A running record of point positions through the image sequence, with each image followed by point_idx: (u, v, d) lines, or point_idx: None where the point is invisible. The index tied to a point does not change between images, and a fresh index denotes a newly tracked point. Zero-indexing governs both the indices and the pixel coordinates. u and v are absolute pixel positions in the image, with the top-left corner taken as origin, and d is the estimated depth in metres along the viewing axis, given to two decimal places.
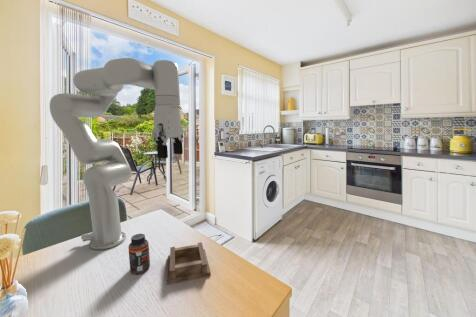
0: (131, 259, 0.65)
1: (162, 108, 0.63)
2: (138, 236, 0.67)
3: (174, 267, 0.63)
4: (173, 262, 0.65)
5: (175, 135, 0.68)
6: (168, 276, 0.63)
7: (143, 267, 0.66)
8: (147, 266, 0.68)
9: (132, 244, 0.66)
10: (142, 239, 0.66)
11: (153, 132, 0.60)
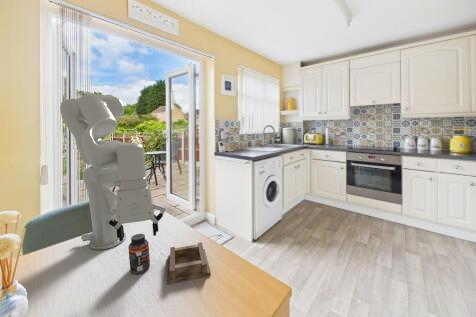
0: (131, 259, 0.65)
1: None
2: (138, 236, 0.67)
3: (174, 267, 0.63)
4: (173, 262, 0.65)
5: None
6: (168, 276, 0.63)
7: (143, 267, 0.66)
8: (147, 266, 0.68)
9: (132, 244, 0.66)
10: (142, 239, 0.66)
11: None
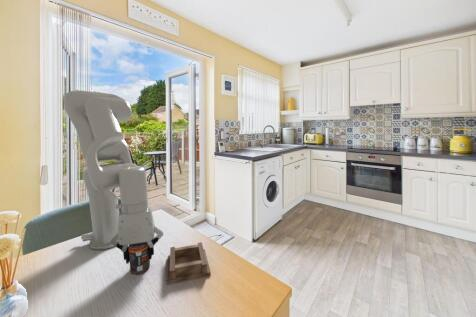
0: (131, 259, 0.65)
1: None
2: None
3: (174, 267, 0.63)
4: (173, 262, 0.65)
5: None
6: (168, 276, 0.63)
7: (143, 266, 0.66)
8: (147, 266, 0.68)
9: (131, 244, 0.66)
10: None
11: (162, 234, 0.69)
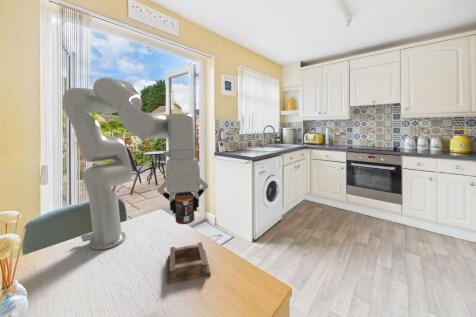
0: (177, 208, 0.64)
1: None
2: None
3: (174, 267, 0.63)
4: (173, 262, 0.65)
5: None
6: (168, 276, 0.63)
7: (189, 217, 0.65)
8: (193, 218, 0.66)
9: (178, 193, 0.64)
10: None
11: None
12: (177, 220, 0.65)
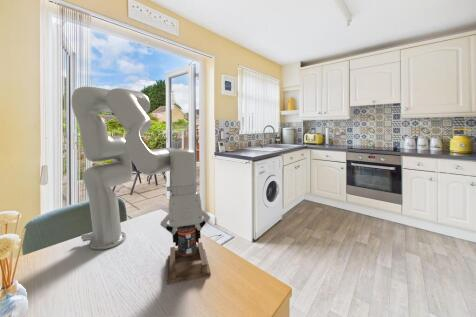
0: (180, 241, 0.65)
1: None
2: None
3: (174, 267, 0.63)
4: (173, 262, 0.65)
5: None
6: (168, 276, 0.63)
7: (192, 249, 0.66)
8: (195, 249, 0.68)
9: None
10: None
11: None
12: (180, 252, 0.66)
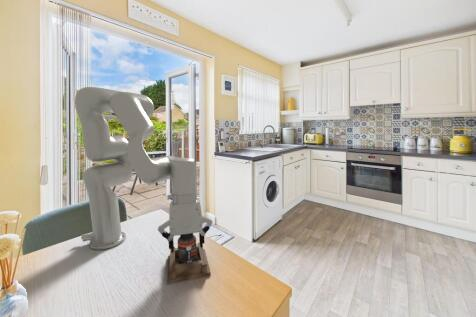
0: (181, 253, 0.66)
1: None
2: None
3: (174, 267, 0.63)
4: (173, 262, 0.65)
5: None
6: (168, 276, 0.63)
7: (192, 261, 0.67)
8: (195, 260, 0.68)
9: (181, 238, 0.67)
10: (191, 234, 0.67)
11: None
12: None
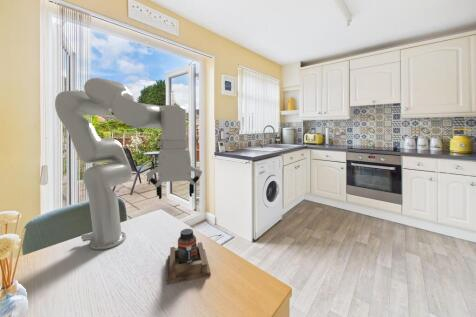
0: (181, 253, 0.66)
1: None
2: (187, 231, 0.68)
3: (174, 267, 0.63)
4: (173, 262, 0.65)
5: None
6: (168, 276, 0.63)
7: (192, 261, 0.67)
8: None
9: (181, 238, 0.67)
10: (191, 234, 0.67)
11: (201, 172, 0.70)
12: None
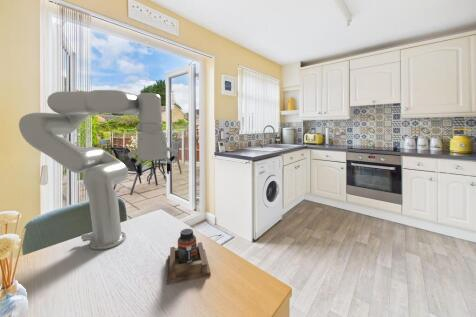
0: (181, 253, 0.66)
1: None
2: (187, 231, 0.68)
3: (174, 267, 0.63)
4: (173, 262, 0.65)
5: None
6: (168, 276, 0.63)
7: (192, 261, 0.67)
8: None
9: (181, 238, 0.67)
10: (191, 234, 0.67)
11: None
12: None
